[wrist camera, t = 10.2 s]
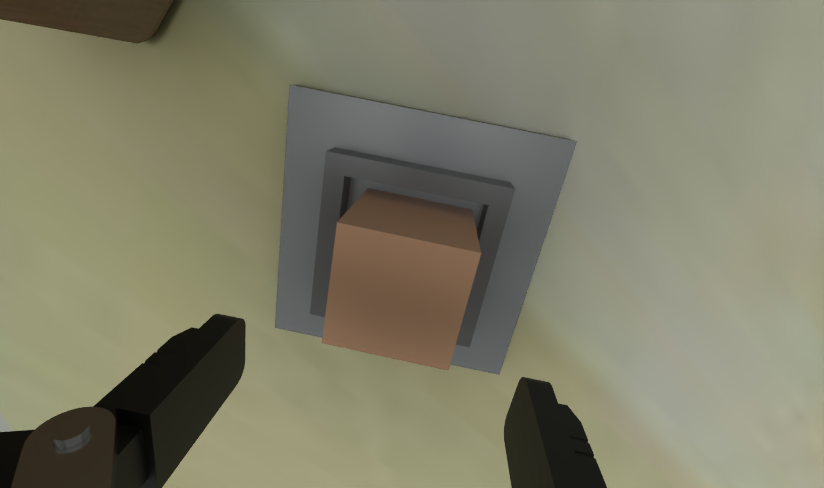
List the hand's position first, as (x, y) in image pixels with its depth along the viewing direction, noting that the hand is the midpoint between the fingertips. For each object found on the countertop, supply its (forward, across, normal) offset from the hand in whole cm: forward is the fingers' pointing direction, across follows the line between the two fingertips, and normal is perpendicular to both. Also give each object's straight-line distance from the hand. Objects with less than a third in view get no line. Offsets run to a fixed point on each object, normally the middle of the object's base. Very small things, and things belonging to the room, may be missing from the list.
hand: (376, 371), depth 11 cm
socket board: (+12, 0, 0) cm, 12 cm away
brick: (+10, 0, 0) cm, 11 cm away
